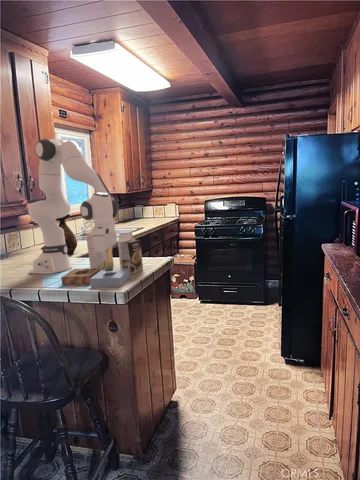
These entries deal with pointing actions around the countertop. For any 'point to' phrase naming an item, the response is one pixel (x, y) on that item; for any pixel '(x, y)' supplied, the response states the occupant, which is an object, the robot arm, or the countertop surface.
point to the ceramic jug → (68, 235)
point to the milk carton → (123, 238)
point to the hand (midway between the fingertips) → (107, 257)
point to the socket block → (110, 278)
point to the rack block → (79, 276)
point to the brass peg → (108, 261)
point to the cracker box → (94, 254)
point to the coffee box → (131, 256)
